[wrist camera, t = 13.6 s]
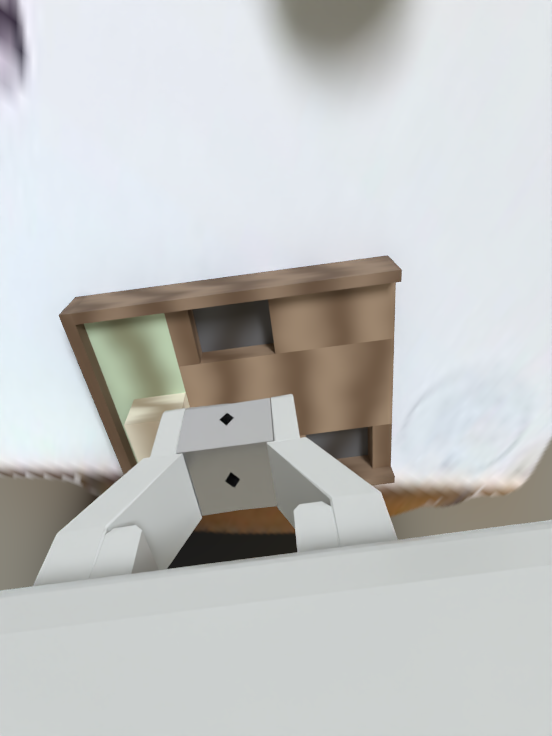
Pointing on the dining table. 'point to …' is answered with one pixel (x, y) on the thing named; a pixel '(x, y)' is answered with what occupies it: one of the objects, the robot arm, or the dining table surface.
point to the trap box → (253, 352)
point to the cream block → (149, 420)
